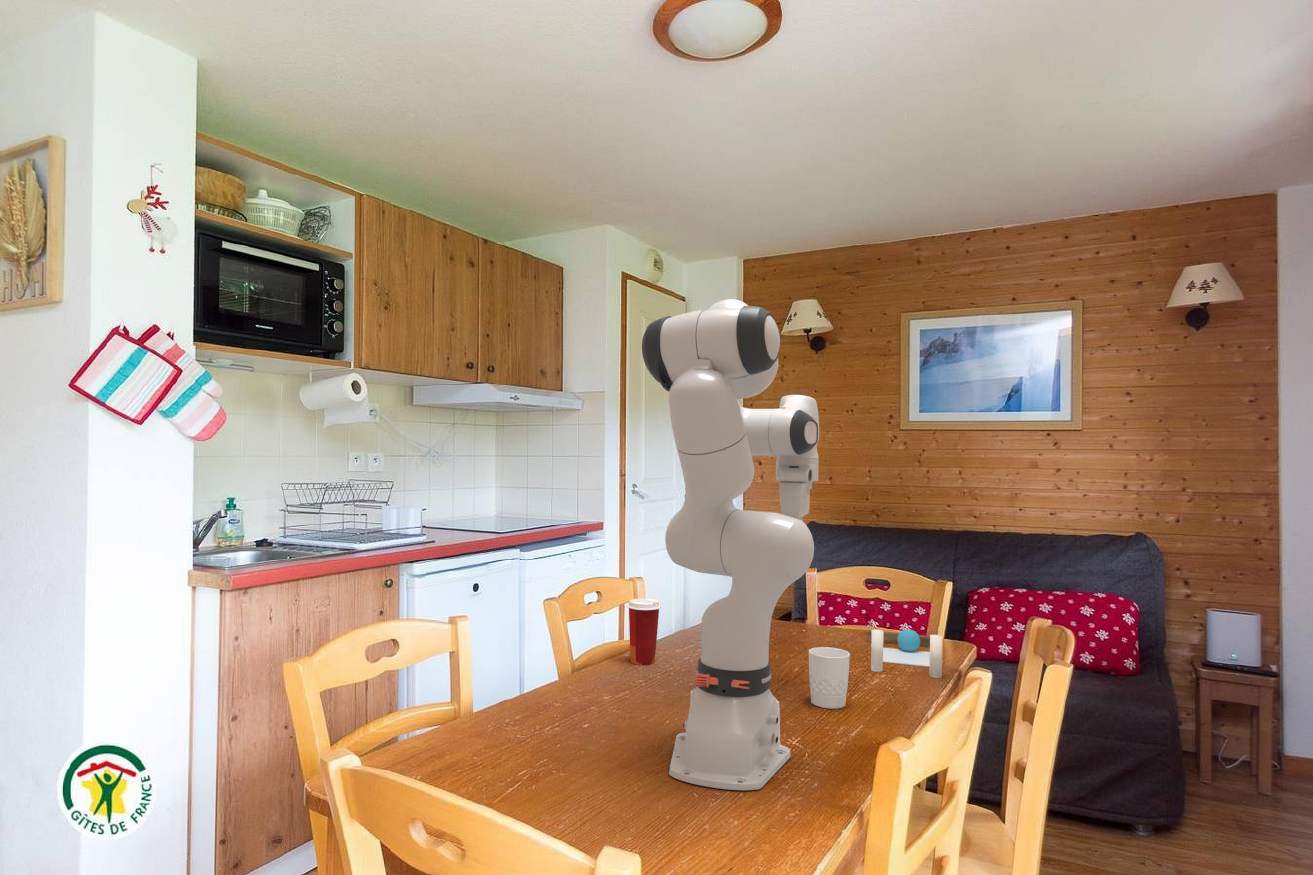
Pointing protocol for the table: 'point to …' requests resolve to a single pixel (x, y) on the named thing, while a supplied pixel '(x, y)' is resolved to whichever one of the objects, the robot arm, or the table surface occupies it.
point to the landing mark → (906, 657)
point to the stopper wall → (892, 637)
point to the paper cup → (643, 630)
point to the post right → (935, 656)
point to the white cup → (828, 676)
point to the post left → (877, 650)
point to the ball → (908, 640)
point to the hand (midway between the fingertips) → (795, 538)
